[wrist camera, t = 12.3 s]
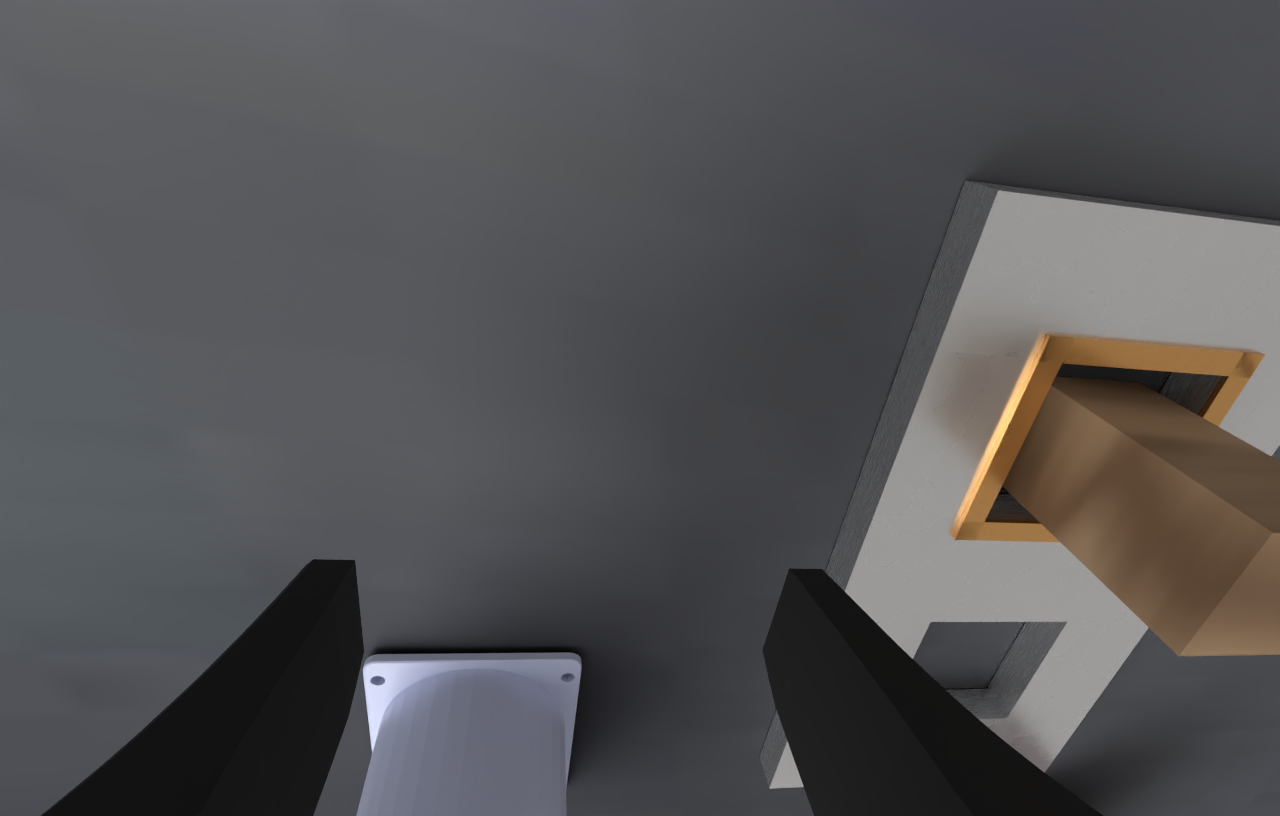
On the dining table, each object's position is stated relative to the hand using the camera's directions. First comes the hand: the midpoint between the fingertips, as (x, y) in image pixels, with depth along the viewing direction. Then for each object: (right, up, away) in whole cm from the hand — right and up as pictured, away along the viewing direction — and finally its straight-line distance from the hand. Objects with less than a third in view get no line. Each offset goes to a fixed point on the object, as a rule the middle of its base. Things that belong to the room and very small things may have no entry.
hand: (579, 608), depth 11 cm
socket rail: (+15, -2, +14) cm, 21 cm away
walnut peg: (+16, +3, +12) cm, 20 cm away
